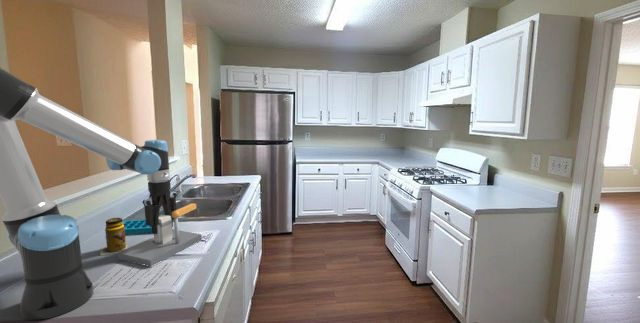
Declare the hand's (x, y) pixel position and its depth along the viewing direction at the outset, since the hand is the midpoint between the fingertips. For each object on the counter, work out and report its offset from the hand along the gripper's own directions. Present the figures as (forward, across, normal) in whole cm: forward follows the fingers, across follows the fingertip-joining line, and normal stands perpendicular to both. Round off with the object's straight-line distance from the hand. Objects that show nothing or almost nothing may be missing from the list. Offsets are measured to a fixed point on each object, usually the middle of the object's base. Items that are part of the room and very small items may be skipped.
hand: (163, 238), depth 116 cm
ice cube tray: (+4, +10, +24) cm, 26 cm away
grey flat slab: (+3, -2, -2) cm, 4 cm away
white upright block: (+3, 0, 0) cm, 3 cm away
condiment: (+4, -9, +16) cm, 18 cm away
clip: (+1, +5, -6) cm, 8 cm away
